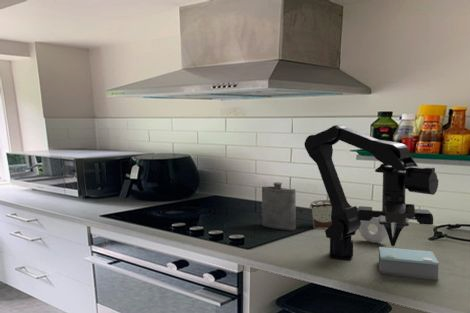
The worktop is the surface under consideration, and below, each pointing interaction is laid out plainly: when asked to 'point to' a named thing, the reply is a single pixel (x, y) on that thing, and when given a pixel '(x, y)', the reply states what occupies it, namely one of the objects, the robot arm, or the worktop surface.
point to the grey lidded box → (408, 269)
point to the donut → (370, 236)
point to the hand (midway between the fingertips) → (392, 245)
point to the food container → (321, 213)
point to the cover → (408, 255)
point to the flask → (279, 207)
